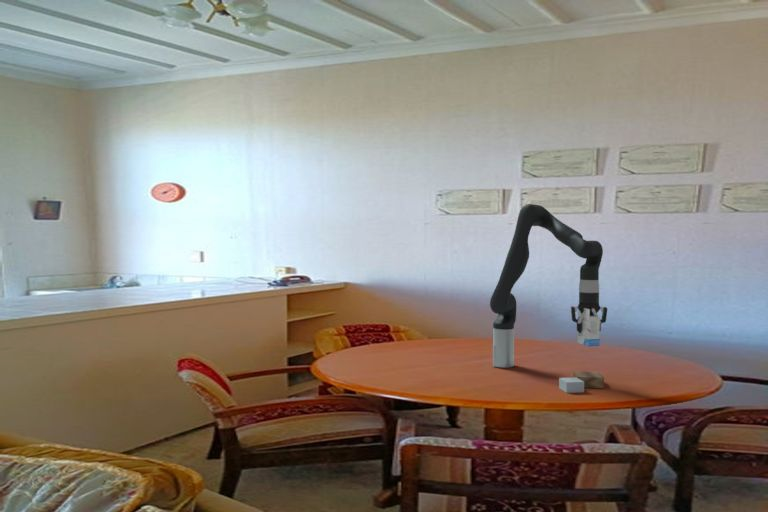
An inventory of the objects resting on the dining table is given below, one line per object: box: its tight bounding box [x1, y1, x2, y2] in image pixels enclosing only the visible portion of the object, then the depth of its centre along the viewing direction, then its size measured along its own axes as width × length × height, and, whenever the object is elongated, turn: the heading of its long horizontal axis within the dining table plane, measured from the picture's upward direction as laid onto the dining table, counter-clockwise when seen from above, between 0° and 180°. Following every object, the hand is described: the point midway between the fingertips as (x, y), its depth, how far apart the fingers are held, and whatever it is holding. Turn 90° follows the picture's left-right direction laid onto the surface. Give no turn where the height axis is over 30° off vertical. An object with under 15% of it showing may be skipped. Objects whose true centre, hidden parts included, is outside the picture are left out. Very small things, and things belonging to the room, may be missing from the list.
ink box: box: [577, 308, 601, 347], centre depth 242 cm, size 8×5×15 cm, turn 14°
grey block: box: [558, 377, 585, 394], centre depth 234 cm, size 7×7×4 cm
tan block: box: [572, 370, 605, 389], centre depth 243 cm, size 10×10×4 cm
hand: (588, 332), depth 242 cm, fingers closed on ink box, 6 cm apart
